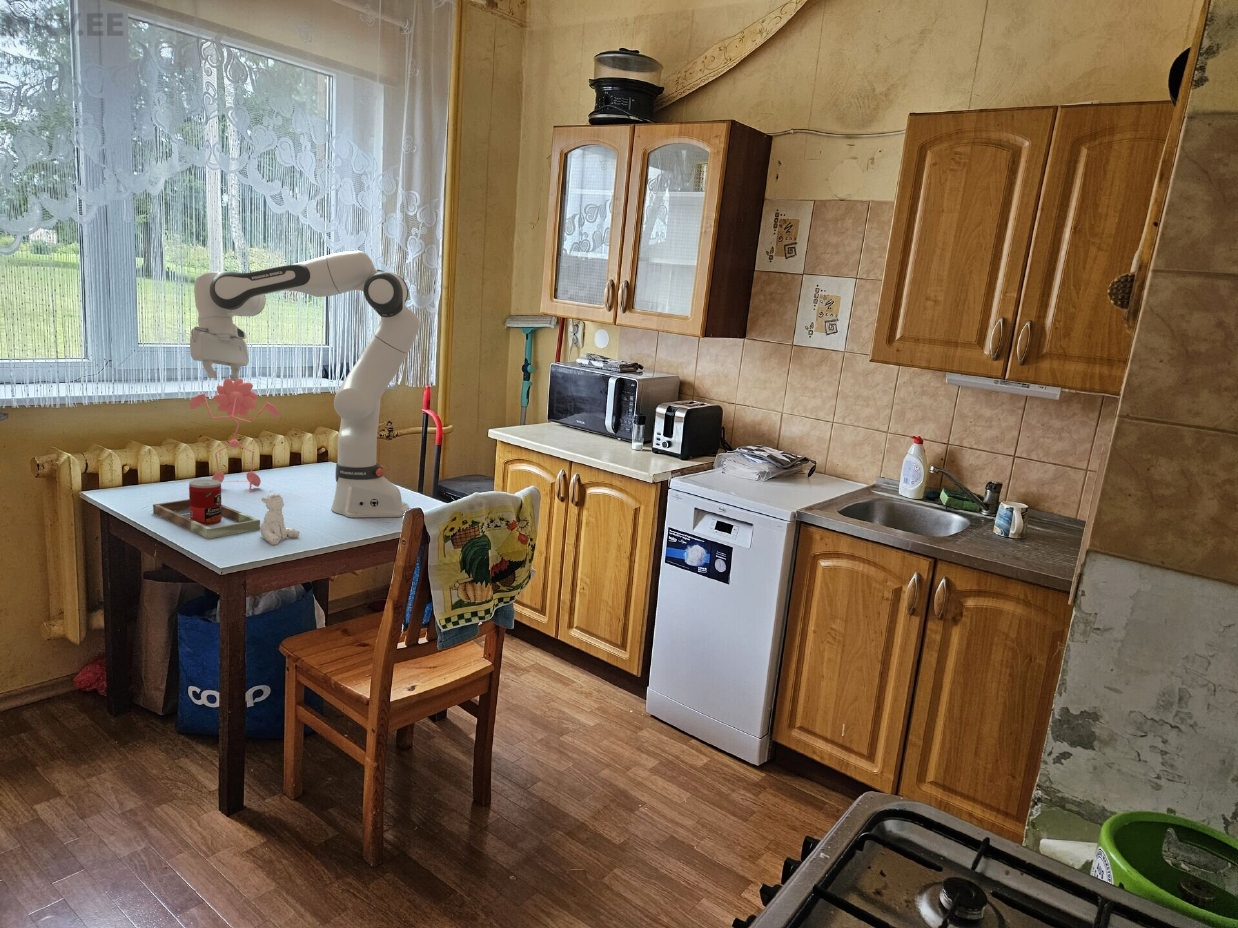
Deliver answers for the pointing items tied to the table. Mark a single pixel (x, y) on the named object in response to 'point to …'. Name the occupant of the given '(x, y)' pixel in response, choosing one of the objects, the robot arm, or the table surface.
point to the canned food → (205, 501)
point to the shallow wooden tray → (174, 516)
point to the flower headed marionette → (235, 401)
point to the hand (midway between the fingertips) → (223, 379)
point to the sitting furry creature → (275, 521)
